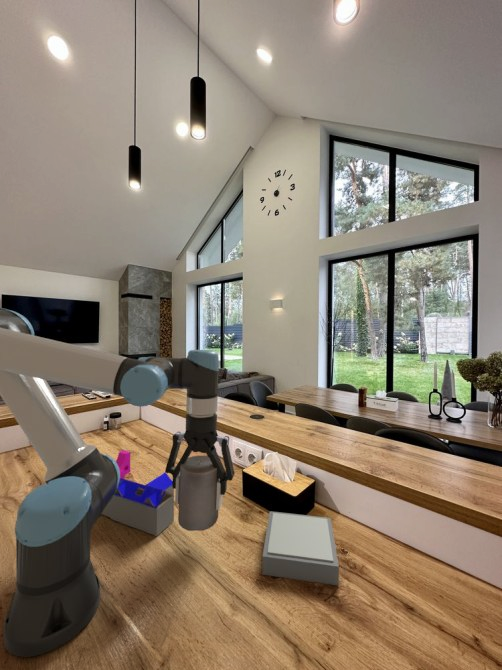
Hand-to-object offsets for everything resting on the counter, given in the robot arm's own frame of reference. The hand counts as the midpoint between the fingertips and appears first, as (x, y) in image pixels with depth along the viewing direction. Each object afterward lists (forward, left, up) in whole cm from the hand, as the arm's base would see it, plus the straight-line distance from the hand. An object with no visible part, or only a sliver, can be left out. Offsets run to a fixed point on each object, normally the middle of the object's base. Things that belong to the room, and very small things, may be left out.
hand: (198, 503), depth 71 cm
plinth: (+2, -25, -10) cm, 27 cm away
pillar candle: (0, 0, -4) cm, 4 cm away
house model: (+12, +22, -11) cm, 27 cm away
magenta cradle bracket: (+24, +41, -11) cm, 48 cm away
